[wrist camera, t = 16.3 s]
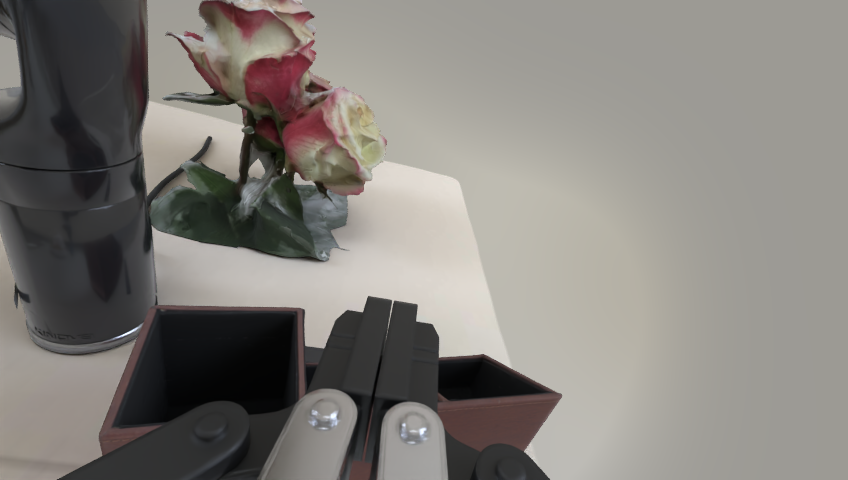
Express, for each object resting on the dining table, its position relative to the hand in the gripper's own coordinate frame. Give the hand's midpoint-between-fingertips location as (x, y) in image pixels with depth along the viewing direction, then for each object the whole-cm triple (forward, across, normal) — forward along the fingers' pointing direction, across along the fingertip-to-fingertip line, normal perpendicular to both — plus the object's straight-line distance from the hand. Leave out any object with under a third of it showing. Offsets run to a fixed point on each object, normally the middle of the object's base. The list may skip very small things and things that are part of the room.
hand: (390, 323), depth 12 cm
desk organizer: (+12, -3, -24) cm, 27 cm away
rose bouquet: (+47, -22, -20) cm, 56 cm away
